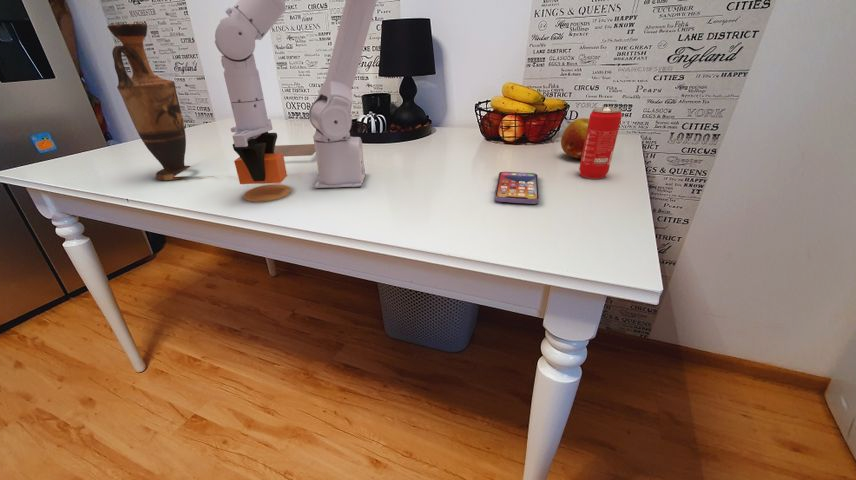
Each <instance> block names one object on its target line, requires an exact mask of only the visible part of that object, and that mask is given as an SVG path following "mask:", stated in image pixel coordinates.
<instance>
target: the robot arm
mask: <svg viewBox="0 0 856 480" xmlns="http://www.w3.org/2000/svg"><path fill="white" fill-rule="evenodd" d="M377 2H378V0H345V3H344V7H343V11H342V14H341V18H340V23H339V26H338V29H337V33H336V37H335V40H334V41H335V42H334V45H333V48H332V53H331V57H330V61H329V64H328V67H327V72H326V75H325V79H324V82H323V83H322V85H321V86H320V88H319V90H318V94H317V97H316V98H315V100H314V101H313V102H312V104H311V105H310V107H309V110H308V119H309V122H310V124H311V126H312V127H313V128H314V129H315V132H314V135H313V144H314V145H315V158H316V164H317V165H316V166H317V172H318V180H317V181H316V183H315V184H314V188H315V189H324V188H326V189H328V188H355V187H356V188H357V187H362V185H363V182H364V180H365V177H366V168H365V158H364V148H363V141H362V138H361V137H360V136H351V132H350V131H351V129H352V124H353V121H352V119H353V118H352V107H353V103H354V100H353V92H352V90H353V86H354V83H355V80H356V75H357V72H358V69H359V65H360V62H361V58H362V54H363V51H364V47H365V44H366V42H367V41H366V40H367V37H368V34H369V30H370V27H371V23H372V20H373V16H374V14H375V13H374V12H375V9H376V6H377ZM285 12H286V0H237V1H236V3H235V4H234V6H233V7H231V6H228V7H227V8H226V9H225V14H226V15H227V16H225V17H223V18H221V19H220V21H219V23H218V25H217V26H216V29H215V32H214V33H215V34H214V43H215V46H216V49H217V50H218V51H219V53H220V54H221V56H220V57H221V60H220V61H221V67H222V68H223V70H224V71H223V76H224V81H225V86H226V90H227V94H228V98H229V102H230V106H231V111H232V114H233V115H232V116H233V119H234V123H235V126H232V127H231V128H230V132H231V133H234V134H233V135H232V141H233V144H232V149H233V151H234V152H235V153H236V154H237V155H238V157H241V159H242V160H243V162H244V163H245V165H246V167H247V169H248V171H249V173H250V175H251V177H252V179H253V181H265V164H264V154H270V153H274V148H275V146H276V142H277V139H278V133H277V132H270V131H272V130H273V125H272V124H273V123H272V119H271V118H269V117H268V113H267V112H268V111H267V108H266V102H265V98H264V94H263V87H262V83H261V82H262V81H261V78H260V72H259V69H258V68H257V63H256V60H255V59H256V58H255V54H254V52H255V50H256V49H255V48H256V40H258V41H262V39H263V38H264V37H265V36H266V35H267V33H268V32H269V31H270V30H271V28H272V27H273V26H274V25H275V24H276V23H277V21H279V19H280V18H281V17H282V15H283V14H284V13H285Z"/></svg>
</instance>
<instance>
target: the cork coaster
mask: <svg viewBox="0 0 856 480" xmlns="http://www.w3.org/2000/svg"><path fill="white" fill-rule="evenodd" d="M291 193H292V192H291V188H290V186H288V185H285V184H266V185H261V186H257V187H253V188H251V189H249V190H247V191H245V192H244V194H243V198H244V199H245V200H246V201H248V202H253V203H264V202H271V201H272V202H273V201H276V200H279V199H282V198H285V197H286V196H288V195H290V194H291Z"/></svg>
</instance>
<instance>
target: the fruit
mask: <svg viewBox="0 0 856 480" xmlns="http://www.w3.org/2000/svg"><path fill="white" fill-rule="evenodd" d="M588 123H589V118H587V117H579V118H576V119H574V120H572V121H571V122H570V123H569V124H568V125H567V126H566V127H565V129H564V131H563V133H562V135H561V139H560V146H561V149H562V151H563V152H564V153H565V154H566V155H568V156H569V157H571V158H574V159H581V158H582V153H583V148H584V143H585V138H586V133H587V128H588Z"/></svg>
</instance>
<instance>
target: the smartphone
mask: <svg viewBox="0 0 856 480" xmlns="http://www.w3.org/2000/svg"><path fill="white" fill-rule="evenodd" d="M538 177H539V176H538V174H537V173H533V172H517V171H500V172H499V173H498V175H497V183H496V188H495V191H494V200H495V201H496V202H501V203H511V204H512V203H514V204H526V205H527V204H528V205H537V204H539V200H540V193H539V192H540V190H539V189H540V188H539V178H538Z"/></svg>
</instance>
